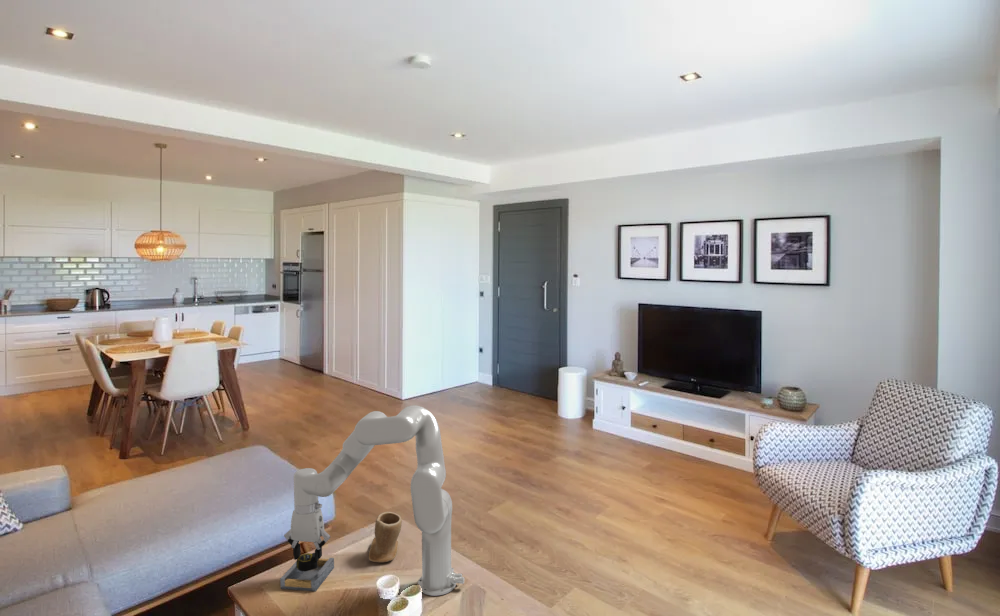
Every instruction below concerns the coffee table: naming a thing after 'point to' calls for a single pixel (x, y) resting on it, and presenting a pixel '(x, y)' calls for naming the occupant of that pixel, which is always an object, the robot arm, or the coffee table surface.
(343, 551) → the coffee table surface
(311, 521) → the robot arm
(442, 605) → the coffee table surface
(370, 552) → the brown boot
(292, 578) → the shallow grey tray
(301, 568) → the tape measure
